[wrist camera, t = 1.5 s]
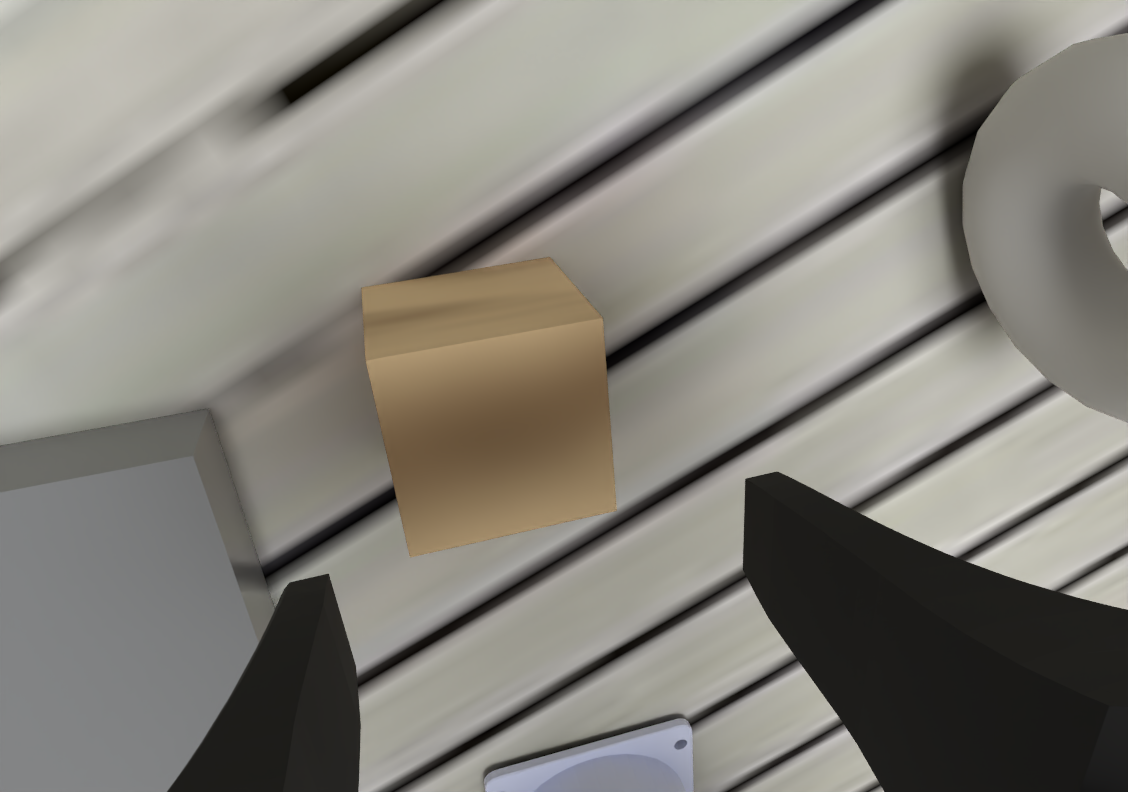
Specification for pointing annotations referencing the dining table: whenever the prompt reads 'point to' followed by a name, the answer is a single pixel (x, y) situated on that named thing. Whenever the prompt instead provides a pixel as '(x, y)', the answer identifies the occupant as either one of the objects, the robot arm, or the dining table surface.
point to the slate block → (120, 603)
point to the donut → (1057, 219)
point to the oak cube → (490, 402)
